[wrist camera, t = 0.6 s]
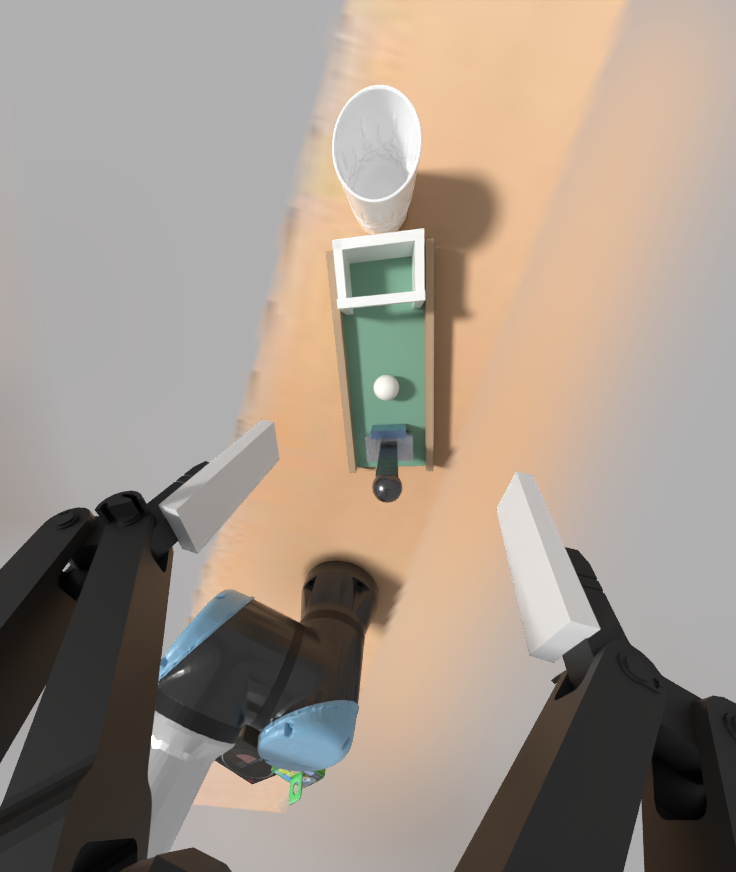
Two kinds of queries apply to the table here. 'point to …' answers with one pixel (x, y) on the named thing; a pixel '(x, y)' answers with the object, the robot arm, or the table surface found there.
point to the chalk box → (298, 780)
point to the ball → (386, 387)
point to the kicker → (388, 458)
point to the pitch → (386, 356)
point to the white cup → (378, 156)
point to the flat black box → (246, 757)
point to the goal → (379, 250)
